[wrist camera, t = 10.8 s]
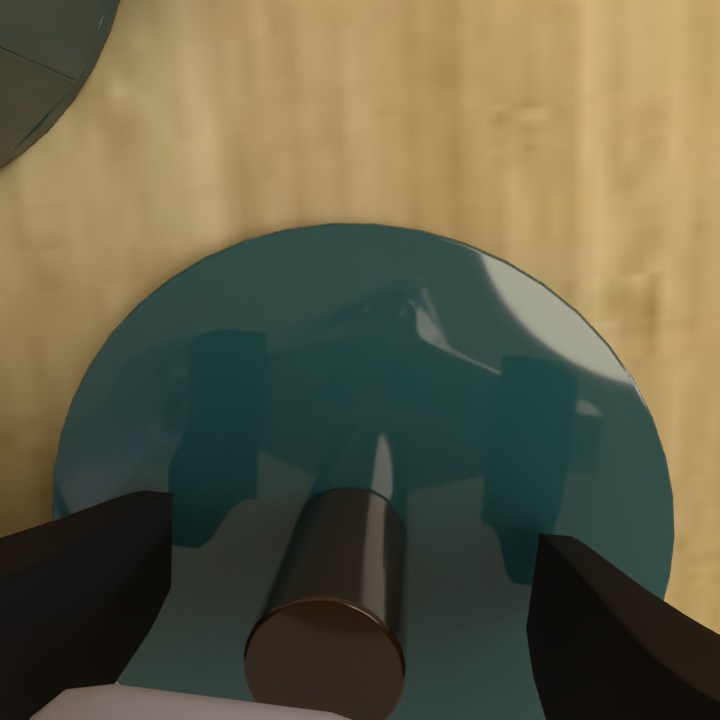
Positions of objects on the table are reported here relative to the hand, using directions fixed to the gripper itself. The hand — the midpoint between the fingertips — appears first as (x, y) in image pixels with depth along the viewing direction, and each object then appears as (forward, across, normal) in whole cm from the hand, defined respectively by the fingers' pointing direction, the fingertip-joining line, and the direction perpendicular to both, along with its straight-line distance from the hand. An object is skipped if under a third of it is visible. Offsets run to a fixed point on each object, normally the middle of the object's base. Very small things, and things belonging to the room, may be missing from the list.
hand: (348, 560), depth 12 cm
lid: (+1, 0, 0) cm, 1 cm away
